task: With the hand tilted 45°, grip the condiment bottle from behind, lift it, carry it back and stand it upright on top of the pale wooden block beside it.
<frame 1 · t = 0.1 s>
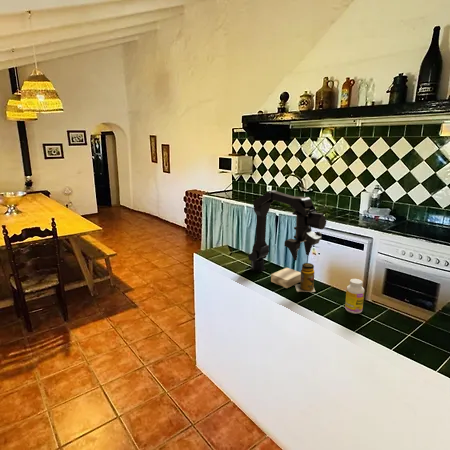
hand: (301, 257, 148), 15 cm above the countertop, tool pointing down, fingers open, 9 cm apart
condiment: (304, 288, 150), on the countertop
wooden block: (286, 281, 158), on the countertop
supplement bottle: (353, 310, 130), on the countertop
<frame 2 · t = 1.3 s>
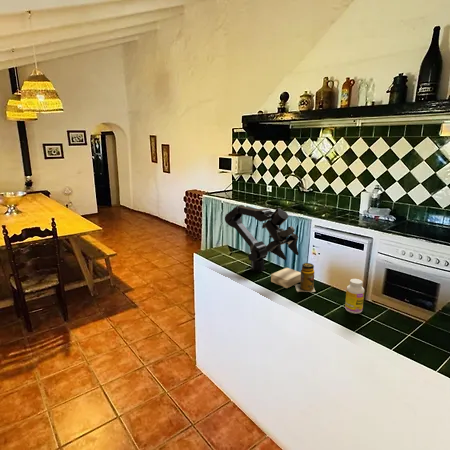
hand: (291, 257, 152), 13 cm above the countertop, tool tilted 45°, fingers open, 9 cm apart
nothing on the countertop moved.
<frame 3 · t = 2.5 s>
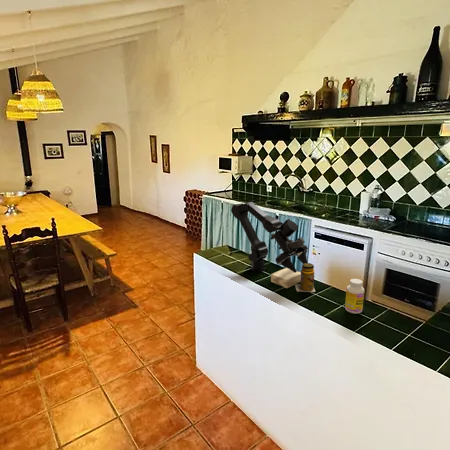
hand: (302, 269, 149), 9 cm above the countertop, tool tilted 45°, fingers open, 9 cm apart
nothing on the countertop moved.
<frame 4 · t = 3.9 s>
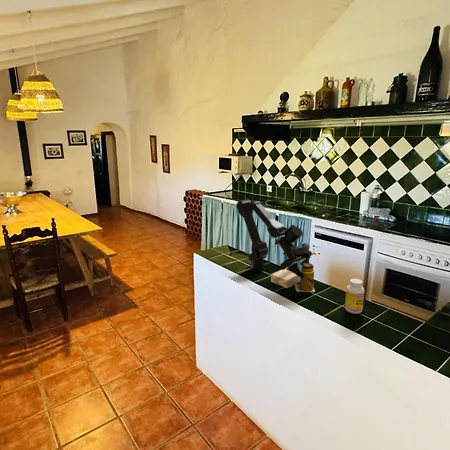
hand: (306, 275, 148), 7 cm above the countertop, tool tilted 45°, fingers closed on condiment, 6 cm apart
condiment: (304, 288, 150), on the countertop, touching gripper
everything else where it was.
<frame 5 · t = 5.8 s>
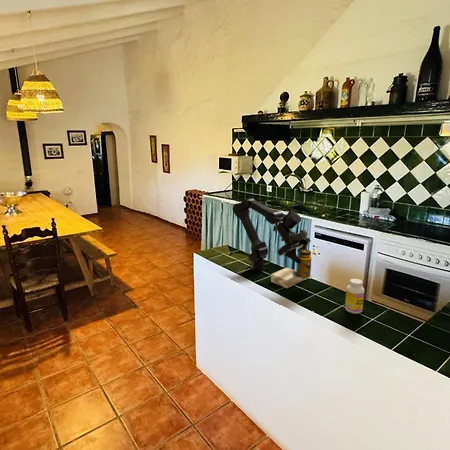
hand: (304, 261, 147), 13 cm above the countertop, tool tilted 45°, fingers closed on condiment, 6 cm apart
condiment: (301, 275, 149), point 6 cm above the countertop, touching gripper
everything else where it was.
when the fingers open (12 cm above the countertop, at t = 7.6 s): condiment drops 1 cm, resting on wooden block.
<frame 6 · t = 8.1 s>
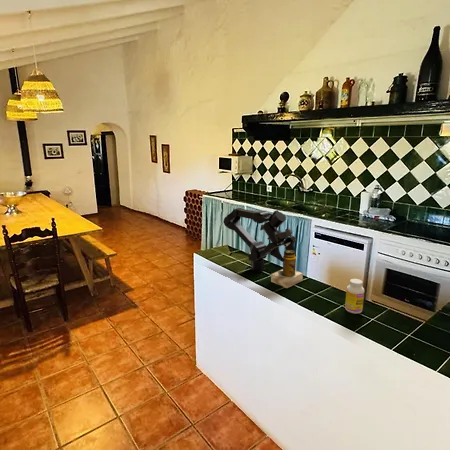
hand: (289, 259, 154), 12 cm above the countertop, tool tilted 45°, fingers open, 9 cm apart
condiment: (287, 274, 156), point 4 cm above the countertop, touching wooden block
everything else where it was.
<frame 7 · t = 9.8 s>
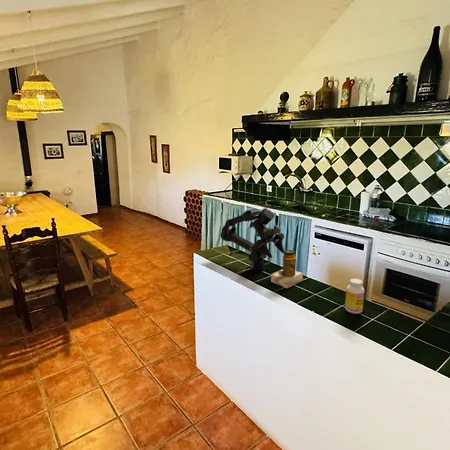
hand: (277, 255, 159), 12 cm above the countertop, tool tilted 45°, fingers open, 9 cm apart
nothing on the countertop moved.
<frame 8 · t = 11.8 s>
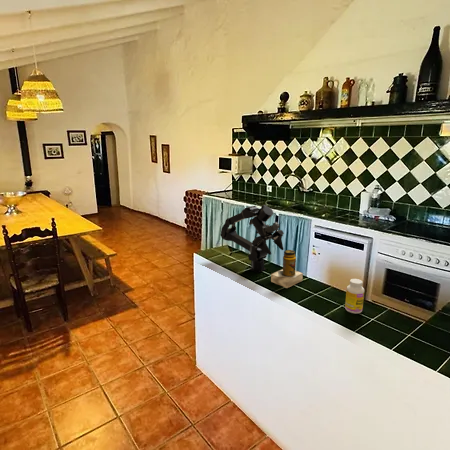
hand: (277, 252, 159), 14 cm above the countertop, tool tilted 45°, fingers open, 9 cm apart
nothing on the countertop moved.
at the end: condiment inside the target area on the wooden block (0.7 cm from its centre), point 3.8 cm above the wooden block's base; condiment tilted 0°; the gripper is holding nothing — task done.
